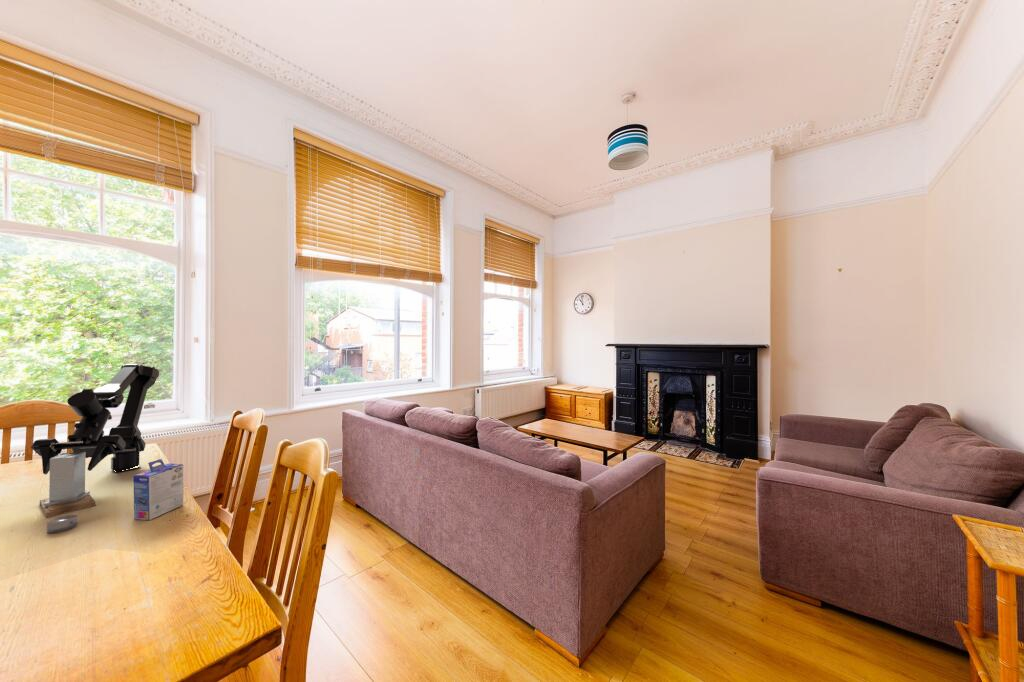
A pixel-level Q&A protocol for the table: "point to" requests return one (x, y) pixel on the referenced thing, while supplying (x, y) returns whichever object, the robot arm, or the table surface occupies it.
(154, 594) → the table surface
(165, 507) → the ink cartridge box
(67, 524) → the grey rounded block
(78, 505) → the stand
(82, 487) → the block
